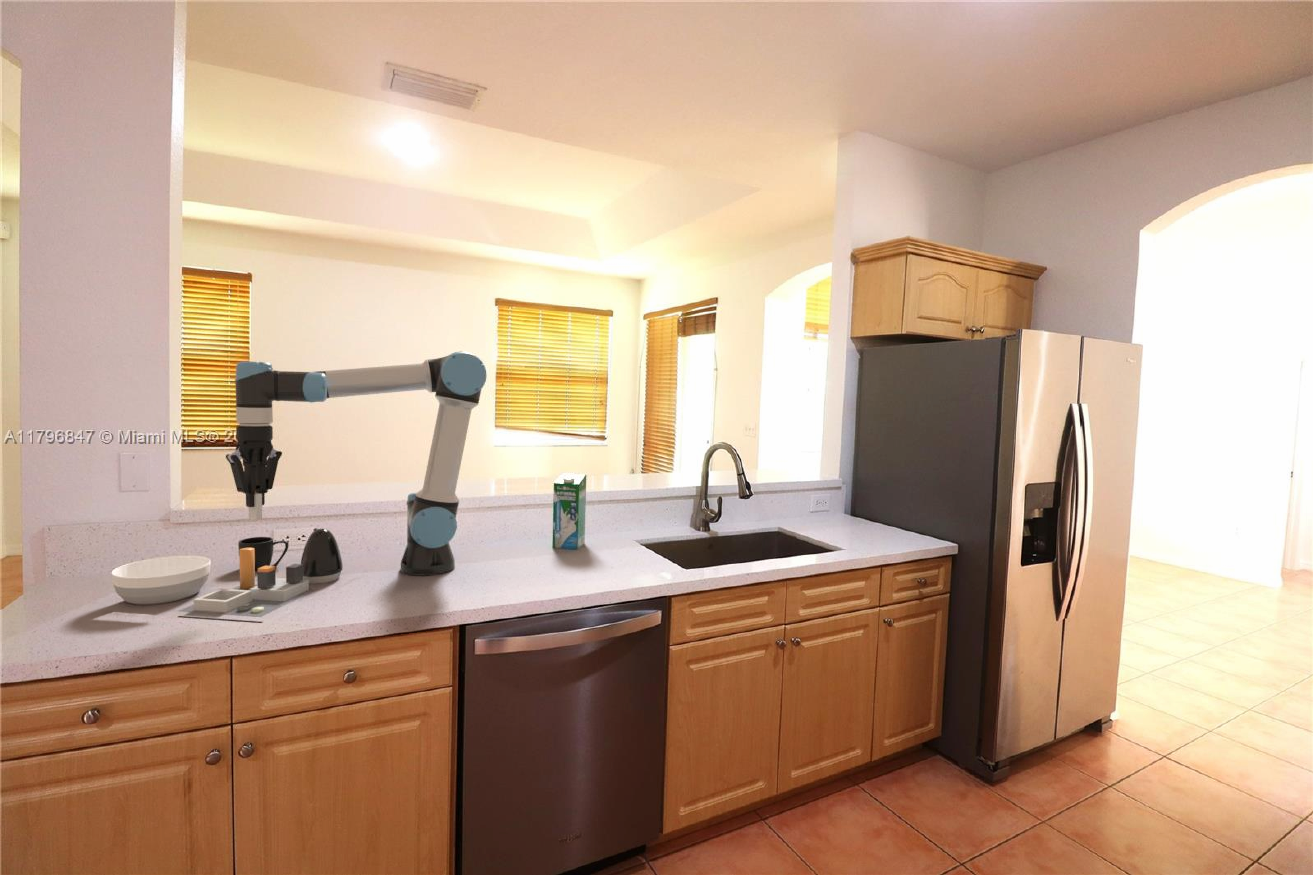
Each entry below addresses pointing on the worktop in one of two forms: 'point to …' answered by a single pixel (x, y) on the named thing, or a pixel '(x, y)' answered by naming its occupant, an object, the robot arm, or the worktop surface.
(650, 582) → the worktop surface
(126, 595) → the bowl
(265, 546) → the mug
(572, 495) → the milk carton
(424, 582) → the worktop surface
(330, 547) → the black domed piece
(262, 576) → the block
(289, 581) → the block
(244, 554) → the pin
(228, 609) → the panel board
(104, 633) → the worktop surface
